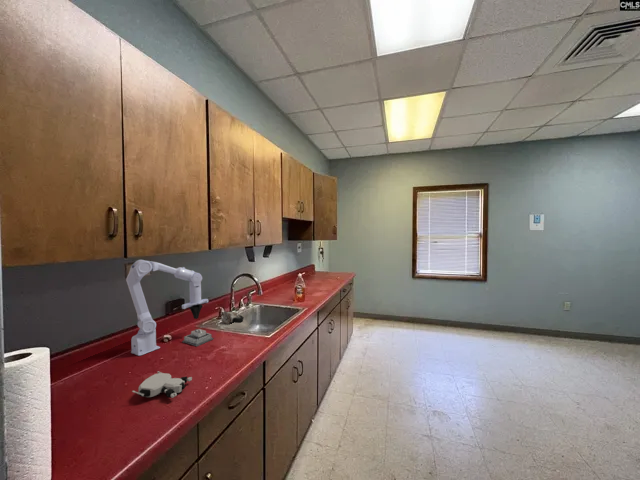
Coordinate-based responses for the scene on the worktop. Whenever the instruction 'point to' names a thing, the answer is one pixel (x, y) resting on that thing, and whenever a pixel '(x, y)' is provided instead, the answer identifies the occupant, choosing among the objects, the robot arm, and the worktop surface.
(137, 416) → the worktop surface
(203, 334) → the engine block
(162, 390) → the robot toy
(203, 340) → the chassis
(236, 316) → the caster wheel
